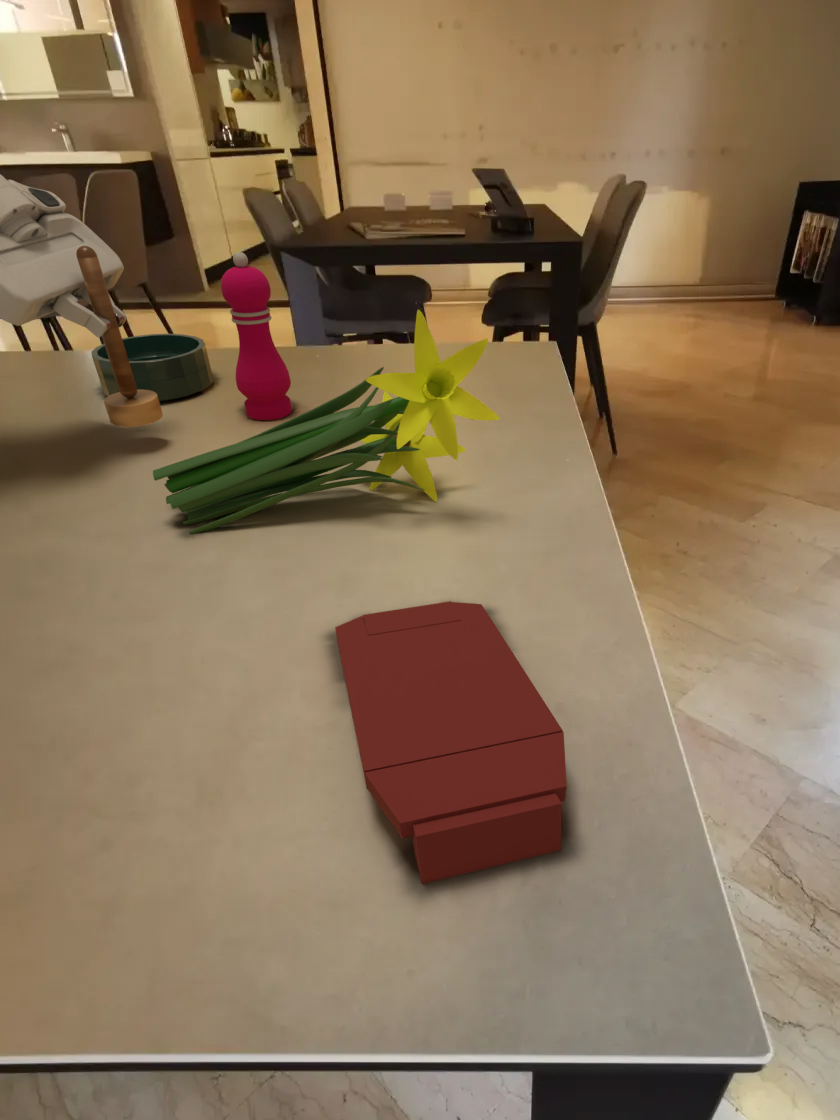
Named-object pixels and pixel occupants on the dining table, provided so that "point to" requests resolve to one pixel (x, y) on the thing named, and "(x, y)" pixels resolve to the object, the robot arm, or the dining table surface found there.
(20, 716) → the dining table surface
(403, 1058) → the dining table surface
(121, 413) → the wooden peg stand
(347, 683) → the carton
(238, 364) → the pepper mill
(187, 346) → the bowl
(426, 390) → the daffodil flowers
